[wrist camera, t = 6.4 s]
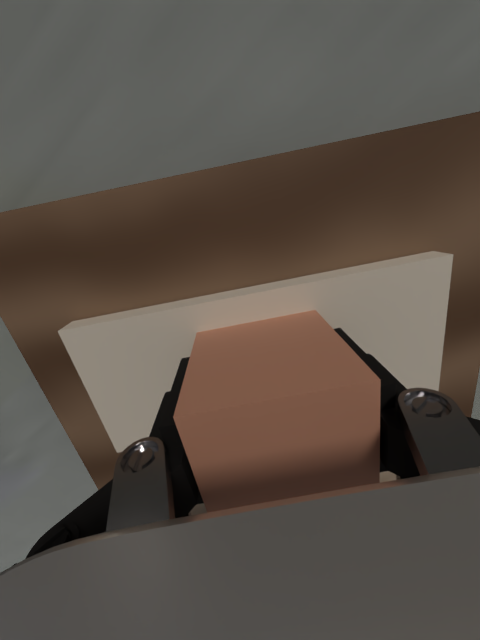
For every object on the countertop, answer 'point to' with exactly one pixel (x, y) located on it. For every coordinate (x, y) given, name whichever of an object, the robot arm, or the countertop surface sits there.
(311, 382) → the stub
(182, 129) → the countertop surface
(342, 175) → the board
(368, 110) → the countertop surface
